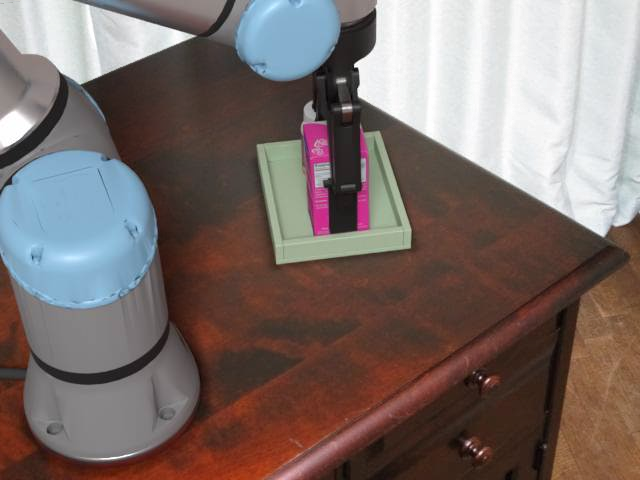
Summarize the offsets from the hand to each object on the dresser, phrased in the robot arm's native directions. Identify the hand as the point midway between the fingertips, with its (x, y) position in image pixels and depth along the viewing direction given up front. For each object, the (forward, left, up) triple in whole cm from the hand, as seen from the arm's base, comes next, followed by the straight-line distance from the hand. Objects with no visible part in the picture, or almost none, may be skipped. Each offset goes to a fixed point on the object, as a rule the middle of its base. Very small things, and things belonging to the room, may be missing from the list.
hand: (337, 205), depth 116 cm
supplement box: (0, 0, -3) cm, 3 cm away
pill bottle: (0, +8, -3) cm, 9 cm away
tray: (0, +4, -3) cm, 5 cm away
